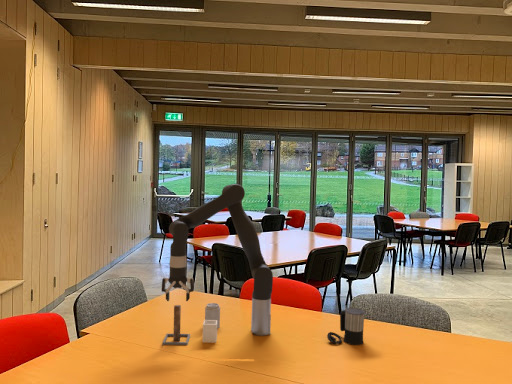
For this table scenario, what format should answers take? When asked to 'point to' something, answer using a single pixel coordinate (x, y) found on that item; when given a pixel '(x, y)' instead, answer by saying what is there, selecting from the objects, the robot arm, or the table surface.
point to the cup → (209, 331)
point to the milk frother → (350, 327)
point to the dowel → (177, 322)
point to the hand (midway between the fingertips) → (177, 300)
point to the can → (213, 313)
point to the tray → (176, 342)
